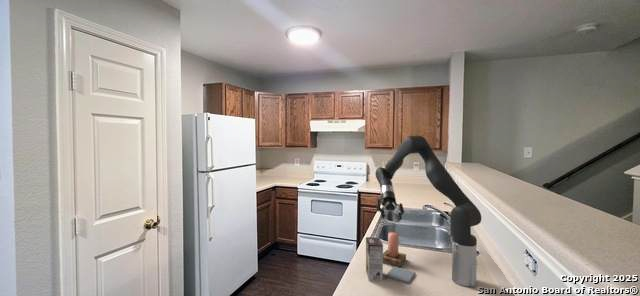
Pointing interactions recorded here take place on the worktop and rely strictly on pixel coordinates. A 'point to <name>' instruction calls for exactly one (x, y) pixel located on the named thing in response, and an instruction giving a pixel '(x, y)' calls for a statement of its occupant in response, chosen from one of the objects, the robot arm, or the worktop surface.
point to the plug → (393, 245)
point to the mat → (400, 274)
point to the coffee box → (374, 259)
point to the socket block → (393, 261)
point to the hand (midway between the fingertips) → (391, 218)
